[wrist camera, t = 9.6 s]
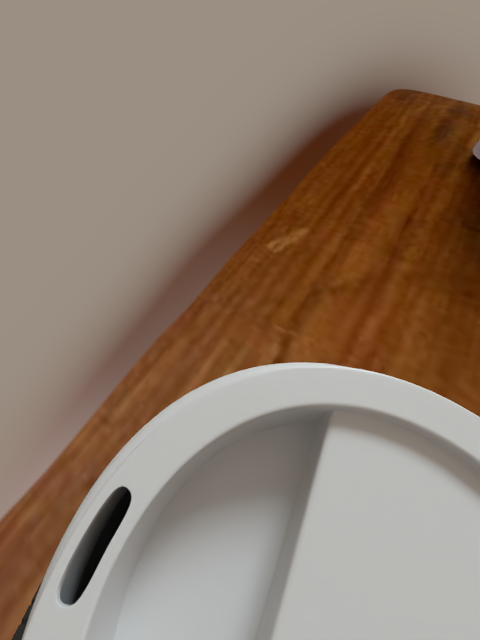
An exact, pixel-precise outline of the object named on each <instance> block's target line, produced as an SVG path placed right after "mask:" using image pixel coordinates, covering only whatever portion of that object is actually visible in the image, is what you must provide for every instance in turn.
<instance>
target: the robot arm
mask: <svg viewBox="0 0 480 640" xmlns="http://www.w3.org/2000/svg"><path fill="white" fill-rule="evenodd" d="M43 579H44V578H43ZM42 581H43V580H42ZM41 584H42V582H41ZM41 584H40V586H41ZM40 586H39V588H38V590H37V592H36V594H35V596H34V598H33V599H32V603H31V605H30V606H29V607H28V609H27V611H26V613H25V615H24V617H23V619H22V623H21V625H19V627H18V629H17V631H16V633H15V634H14V636H13V638H12V640H22V637H23V634H24V631H25V628H26V625H27V622H28V619H29V615H30V613H31V610H32V607H33V604H34V602H35V599H36V596H37V594H38V591H39V589H40Z"/></svg>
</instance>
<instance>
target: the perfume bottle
mask: <svg viewBox="0 0 480 640" xmlns="http://www.w3.org/2000/svg"><path fill="white" fill-rule="evenodd" d="M473 154H474V155H475V156H476V157H477V158H478V159H479V160H480V139H479V140H478V142H477V143H476V145H475V146H474V148H473Z"/></svg>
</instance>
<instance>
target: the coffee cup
mask: <svg viewBox="0 0 480 640" xmlns="http://www.w3.org/2000/svg"><path fill="white" fill-rule="evenodd" d="M22 640H480V417H478V416H477V415H475V414H473V413H472V412H470V411H468V410H467V409H465V408H463V407H461V406H460V405H458V404H456V403H454V402H452V401H450V400H448V399H446V398H444V397H442V396H440V395H438V394H436V393H434V392H432V391H429V390H427V389H425V388H422V387H420V386H417V385H415V384H412V383H409V382H407V381H404V380H401V379H398V378H395V377H391V376H388V375H384V374H380V373H376V372H372V371H367V370H361V369H355V368H349V367H344V366H338V365H331V364H322V363H281V364H271V365H265V366H259V367H254V368H249V369H245V370H242V371H238V372H235V373H232V374H229V375H226V376H223V377H221V378H218V379H216V380H214V381H211V382H209V383H207V384H205V385H203V386H201V387H199V388H197V389H195V390H193V391H191V392H190V393H188V394H186V395H185V396H183V397H182V398H180V399H178V400H177V401H175V402H174V403H173V404H171V405H170V406H168V407H167V408H166V409H164V410H163V411H162V412H160V413H159V414H158V415H157V416H155V417H154V418H153V419H152V420H151V421H149V422H148V423H147V424H146V425H145V426H144V427H143V428H142V429H141V430H140V431H139V432H138V433H136V434H135V435H134V436H133V437H132V439H131V440H130V441H129V442H128V443H127V444H126V445H125V446H124V447H123V448H122V449H121V450H120V451H119V453H118V454H117V455H116V456H115V457H114V459H113V460H112V461H111V462H110V464H109V465H108V466H107V467H106V469H105V470H104V471H103V473H102V474H101V475H100V477H99V478H98V479H97V481H96V482H95V484H94V485H93V487H92V488H91V490H90V491H89V493H88V494H87V496H86V497H85V499H84V501H83V502H82V504H81V505H80V507H79V509H78V510H77V512H76V514H75V516H74V517H73V519H72V521H71V523H70V525H69V526H68V528H67V530H66V532H65V534H64V536H63V538H62V540H61V542H60V544H59V546H58V548H57V550H56V552H55V554H54V556H53V558H52V560H51V562H50V565H49V567H48V569H47V572H46V574H45V576H44V579H43V581H42V584H41V586H40V589H39V591H38V594H37V596H36V599H35V602H34V604H33V607H32V610H31V613H30V615H29V619H28V622H27V625H26V628H25V631H24V634H23V637H22Z"/></svg>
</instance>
